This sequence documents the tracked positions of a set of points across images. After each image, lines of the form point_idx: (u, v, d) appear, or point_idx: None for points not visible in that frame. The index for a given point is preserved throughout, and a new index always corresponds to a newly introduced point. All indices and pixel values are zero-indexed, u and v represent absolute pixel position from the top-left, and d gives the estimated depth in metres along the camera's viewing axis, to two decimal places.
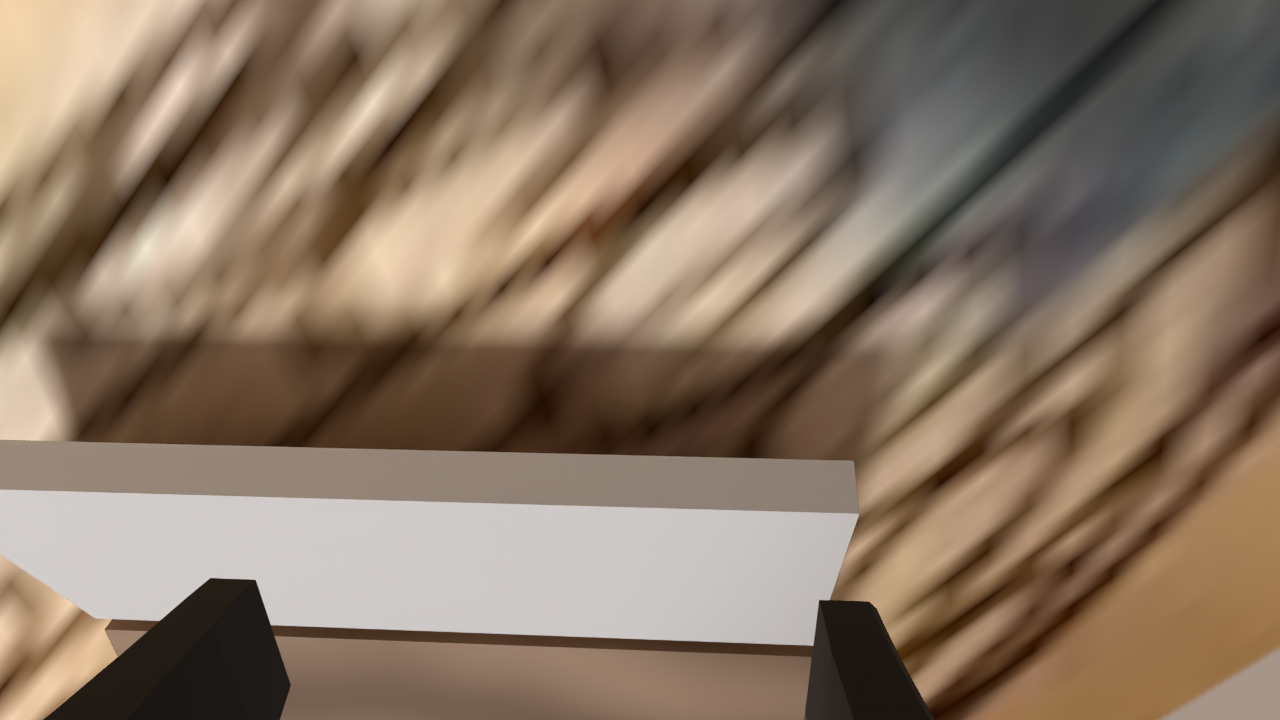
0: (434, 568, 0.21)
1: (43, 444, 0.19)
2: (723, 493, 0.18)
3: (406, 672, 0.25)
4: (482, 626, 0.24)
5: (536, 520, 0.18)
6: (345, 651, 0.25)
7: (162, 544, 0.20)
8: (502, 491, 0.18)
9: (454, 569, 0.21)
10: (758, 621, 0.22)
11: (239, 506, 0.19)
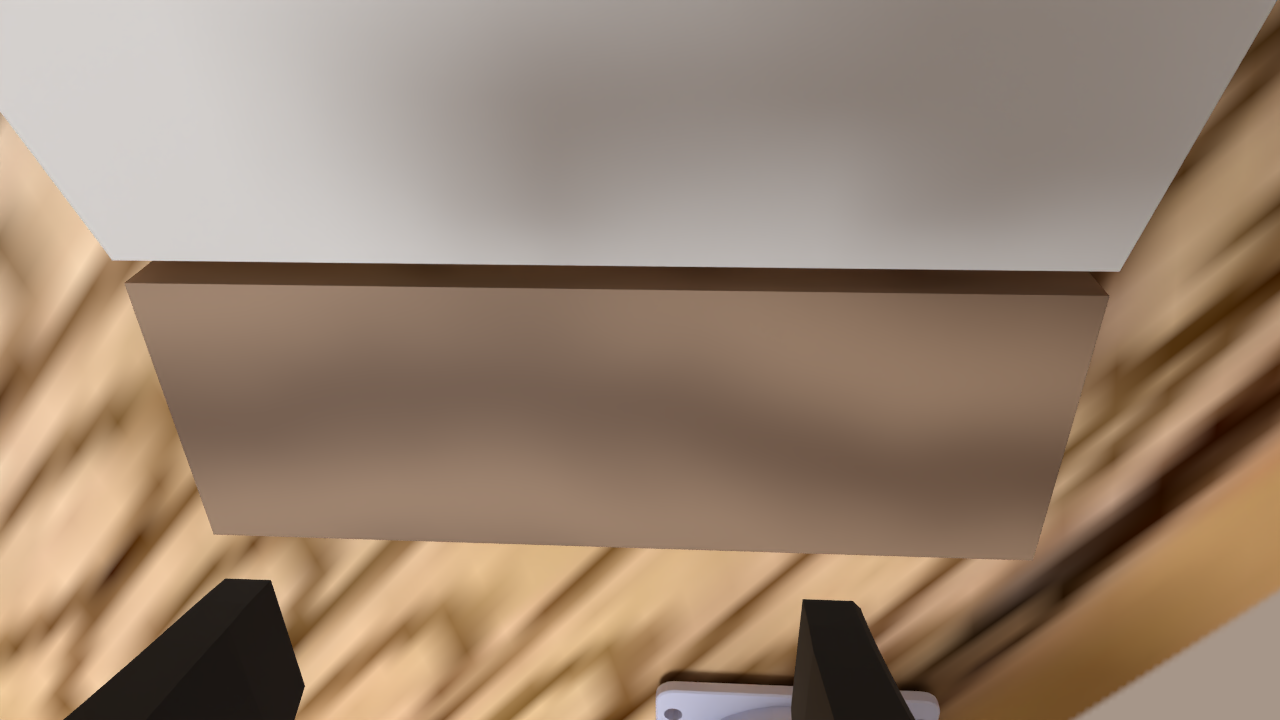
0: (619, 81, 0.14)
1: None
2: None
3: (534, 344, 0.19)
4: (655, 246, 0.17)
5: None
6: (453, 309, 0.18)
7: (218, 32, 0.14)
8: None
9: (649, 82, 0.14)
10: (1063, 209, 0.16)
11: None
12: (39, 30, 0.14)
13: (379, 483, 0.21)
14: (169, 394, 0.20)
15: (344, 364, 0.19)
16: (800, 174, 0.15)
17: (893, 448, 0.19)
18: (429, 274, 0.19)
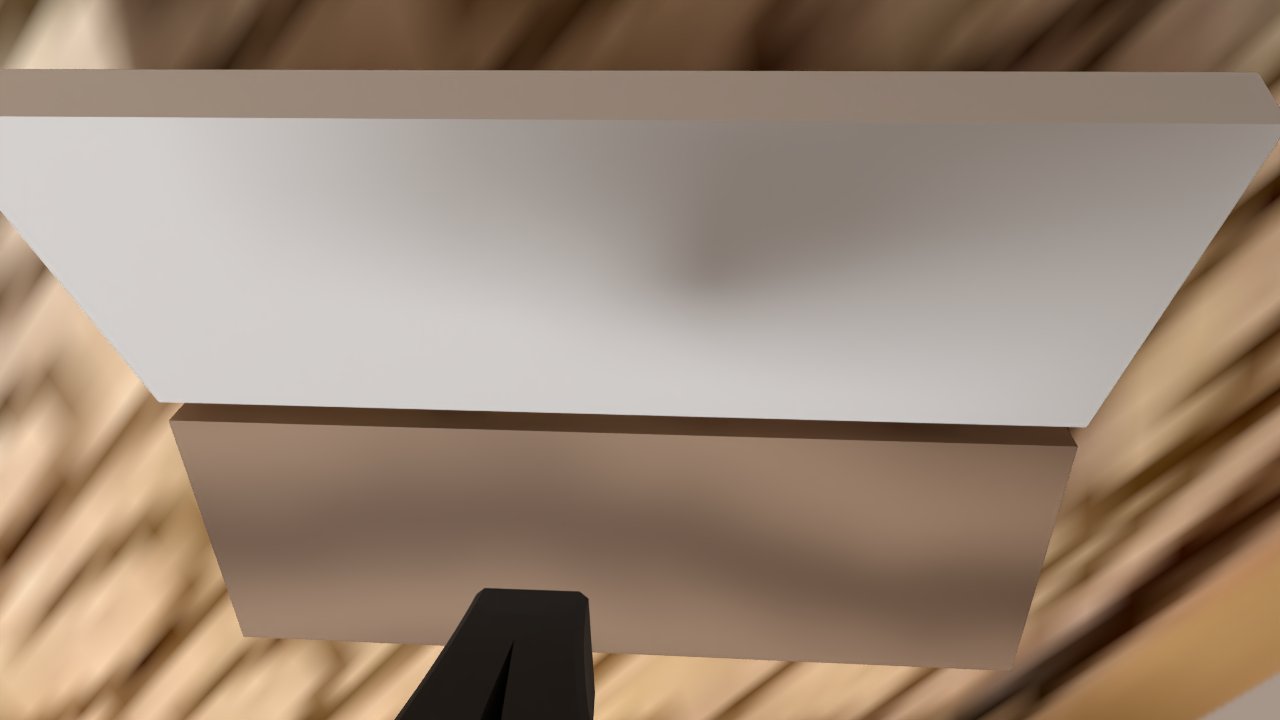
0: (629, 279, 0.16)
1: (118, 73, 0.14)
2: (1084, 107, 0.13)
3: (547, 478, 0.20)
4: (660, 400, 0.18)
5: (808, 159, 0.13)
6: (473, 448, 0.20)
7: (270, 238, 0.15)
8: (767, 109, 0.13)
9: (657, 280, 0.16)
10: (1033, 380, 0.17)
11: (392, 143, 0.13)
12: (108, 233, 0.15)
13: (401, 594, 0.22)
14: (206, 515, 0.21)
15: (370, 492, 0.21)
16: (793, 350, 0.17)
17: (879, 572, 0.21)
18: (451, 413, 0.20)
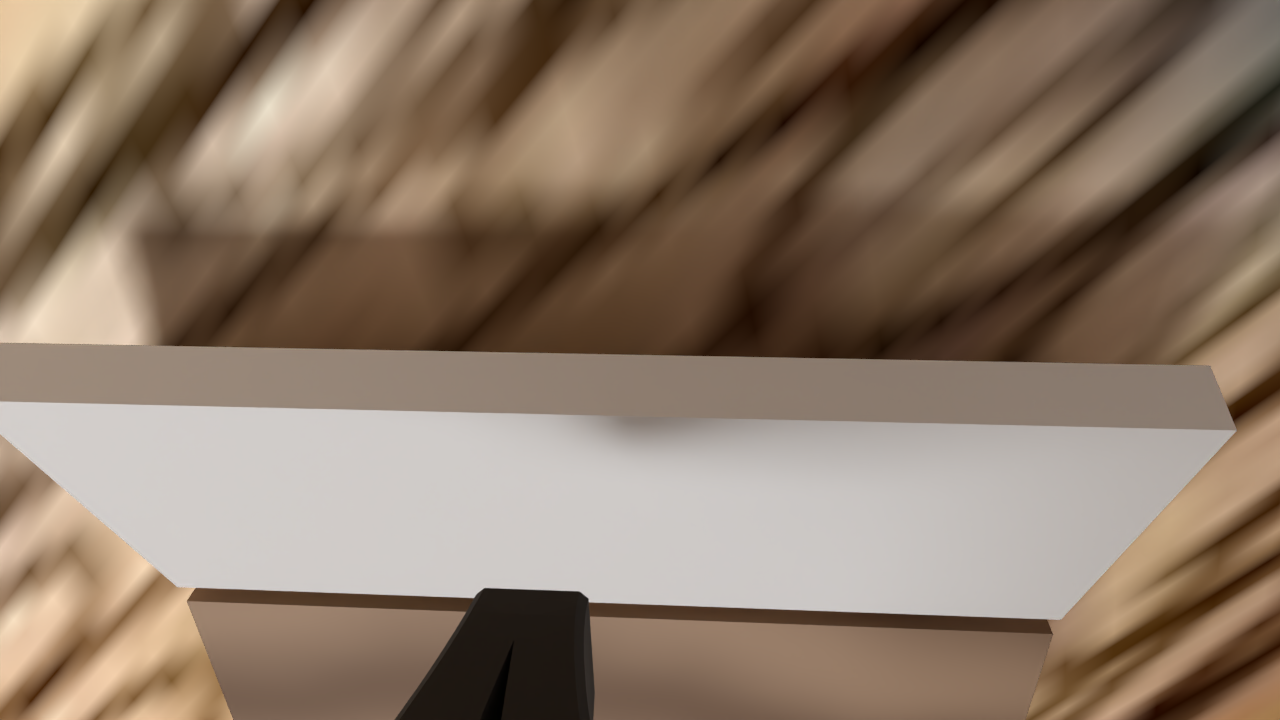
0: (624, 516, 0.16)
1: (143, 349, 0.15)
2: (1047, 406, 0.14)
3: None
4: (655, 594, 0.19)
5: (790, 443, 0.14)
6: None
7: (285, 483, 0.16)
8: (752, 404, 0.14)
9: (651, 517, 0.16)
10: (1008, 588, 0.18)
11: (401, 426, 0.14)
12: (133, 477, 0.16)
13: None
14: (222, 680, 0.22)
15: (379, 663, 0.22)
16: (780, 564, 0.18)
17: None
18: None
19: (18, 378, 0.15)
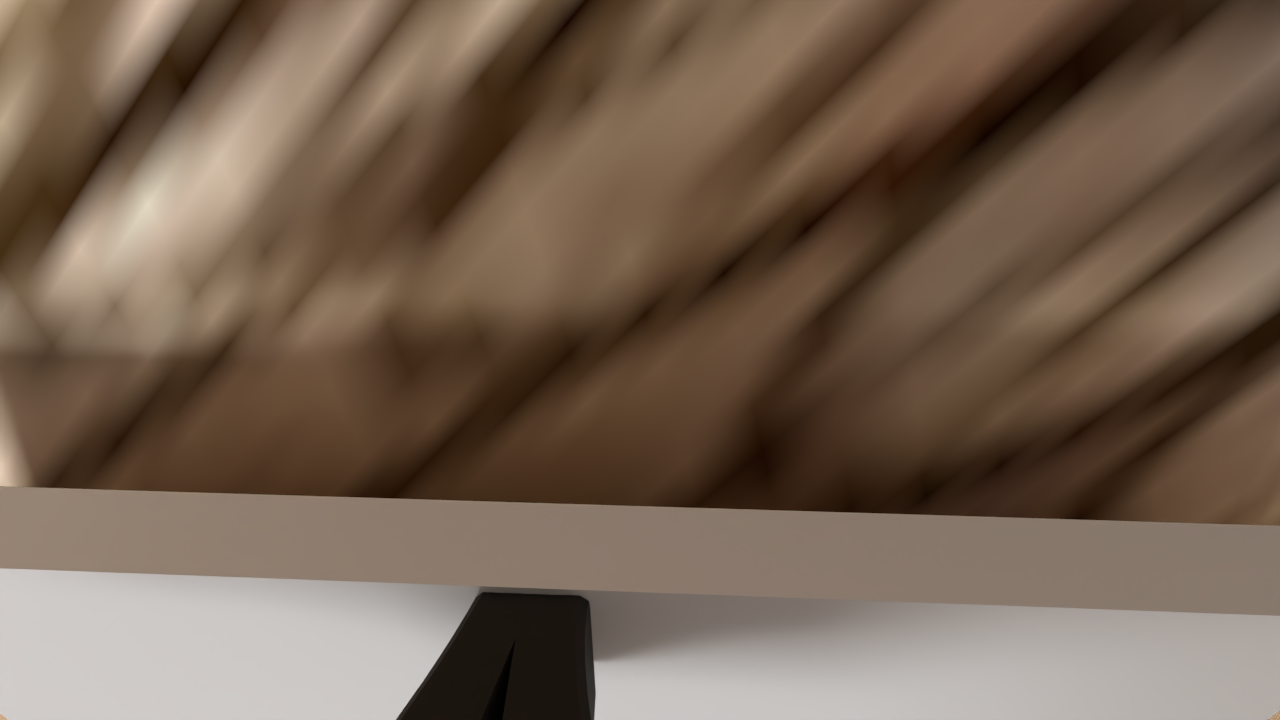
0: (605, 697, 0.13)
1: None
2: (1148, 582, 0.10)
3: None
4: None
5: (815, 624, 0.11)
6: None
7: (179, 656, 0.13)
8: (766, 575, 0.11)
9: (637, 700, 0.13)
10: None
11: (316, 597, 0.11)
12: None
13: None
14: None
15: None
16: None
17: None
18: None
19: None
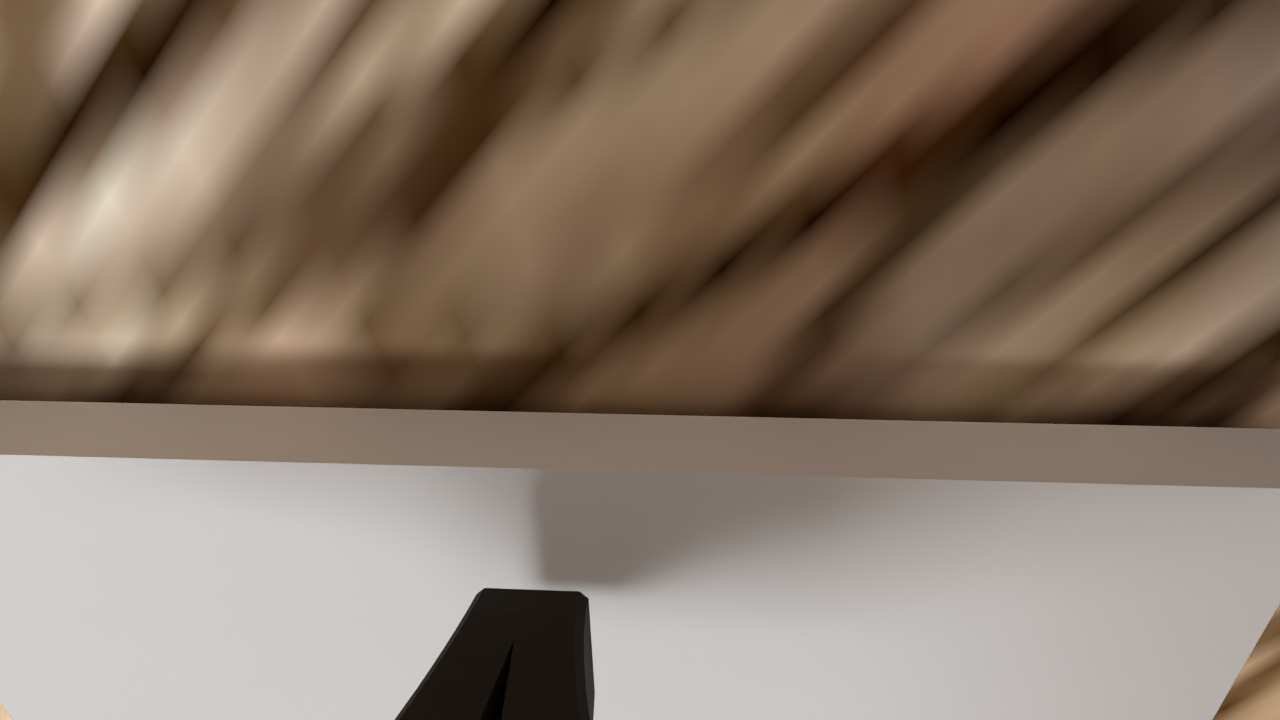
0: (605, 640, 0.13)
1: (55, 405, 0.13)
2: (1110, 465, 0.11)
3: None
4: None
5: (806, 515, 0.12)
6: None
7: (193, 586, 0.13)
8: (760, 461, 0.12)
9: (637, 642, 0.13)
10: None
11: (340, 489, 0.12)
12: (11, 576, 0.13)
13: None
14: None
15: None
16: None
17: None
18: None
19: None
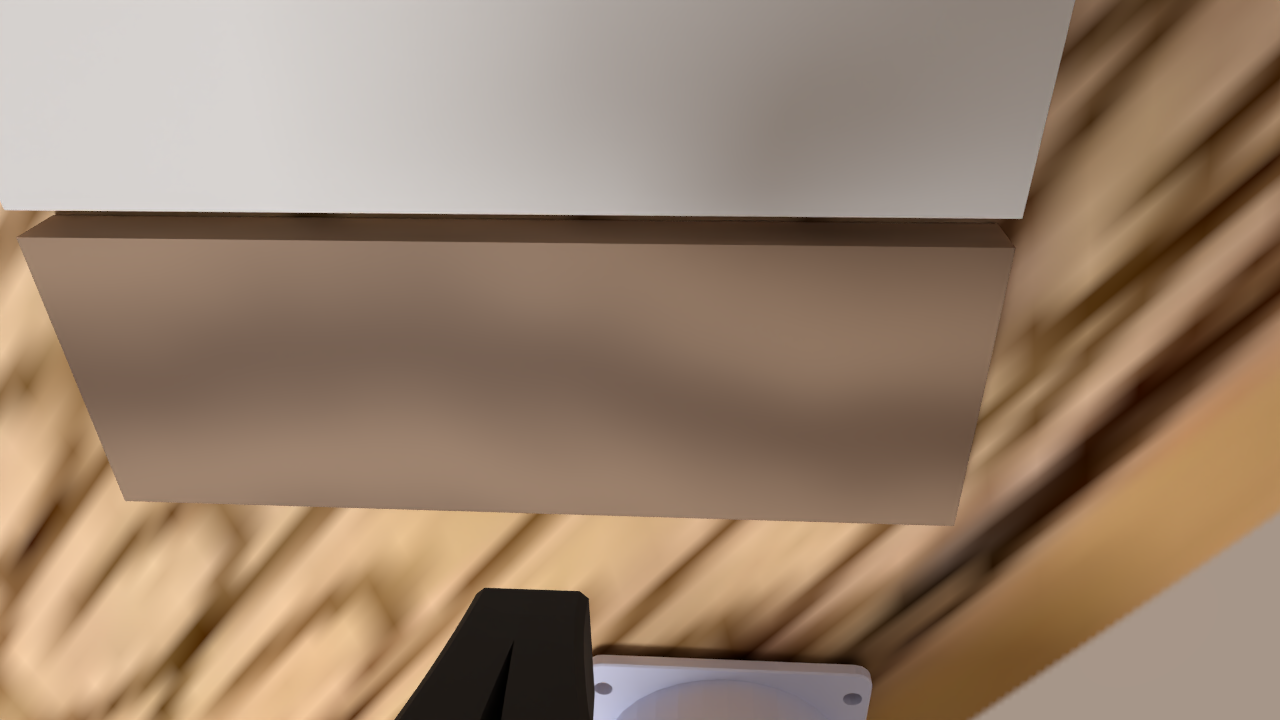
0: None
1: None
2: None
3: (436, 300, 0.18)
4: (551, 187, 0.17)
5: None
6: (351, 264, 0.18)
7: None
8: None
9: None
10: (951, 135, 0.16)
11: None
12: None
13: (289, 446, 0.21)
14: (70, 354, 0.20)
15: (244, 322, 0.19)
16: (688, 92, 0.16)
17: (805, 408, 0.19)
18: (328, 229, 0.18)
19: None
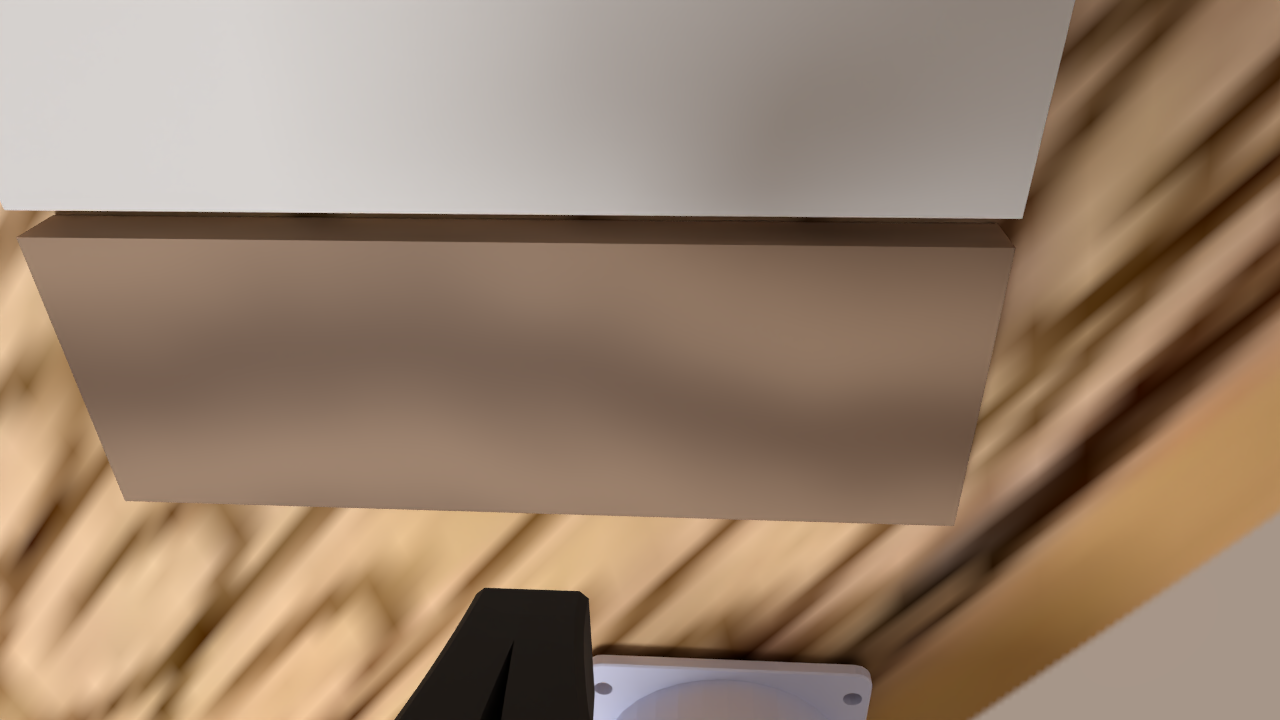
0: None
1: None
2: None
3: (436, 300, 0.18)
4: (551, 187, 0.17)
5: None
6: (351, 264, 0.18)
7: None
8: None
9: None
10: (951, 135, 0.16)
11: None
12: None
13: (289, 446, 0.21)
14: (70, 354, 0.20)
15: (244, 322, 0.19)
16: (688, 92, 0.16)
17: (805, 408, 0.19)
18: (328, 229, 0.18)
19: None
